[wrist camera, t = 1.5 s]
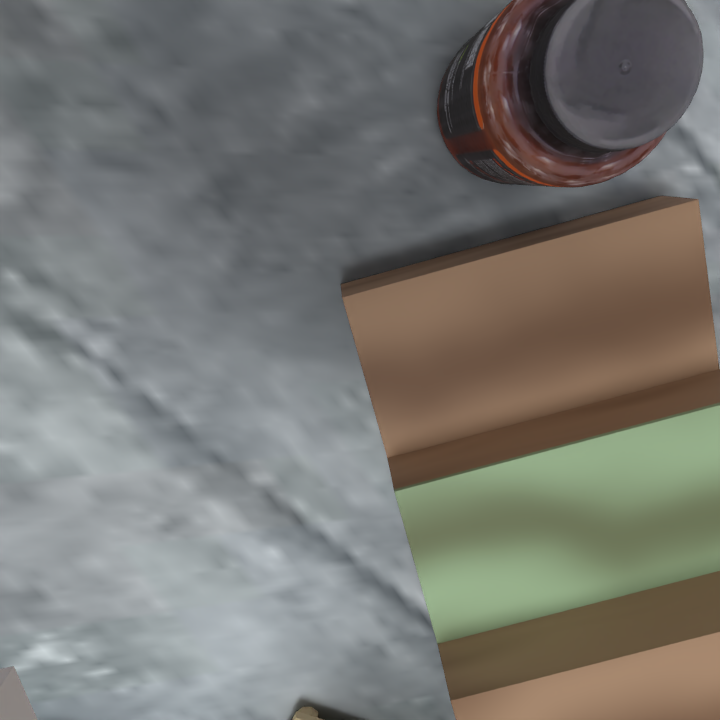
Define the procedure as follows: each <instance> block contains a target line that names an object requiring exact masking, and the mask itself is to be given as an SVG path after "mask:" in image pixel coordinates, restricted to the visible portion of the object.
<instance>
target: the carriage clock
mask: <svg viewBox="0 0 720 720" xmlns="http://www.w3.org/2000/svg"><path fill="white" fill-rule="evenodd" d="M292 720H323V719H320V718H318V711H316V710H315V709H314V708H313V707H302V708H301V709H299V710H298V711H296V713H295V715H294V717H293V719H292Z"/></svg>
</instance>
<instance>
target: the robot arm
mask: <svg viewBox="0 0 720 720" xmlns="http://www.w3.org/2000/svg"><path fill="white" fill-rule="evenodd" d="M0 720H37V717H36V715H35V713H34V711H33V708H32V706H31V704H30V702H29V699H28V697H27V695H26V693H25V690H24V688H23V686H22V684H21V681H20V679H19V677H18V675H17V672H16V670H15V668H14V666H11V667H7V668H2V669H0Z"/></svg>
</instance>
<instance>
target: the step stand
mask: <svg viewBox="0 0 720 720" xmlns="http://www.w3.org/2000/svg"><path fill="white" fill-rule="evenodd" d="M341 291H342V298H343V302H344V305H345V309H346V313H347V316H348V320H349V323H350V327H351V330H352V334H353V337H354V341H355V344H356V348H357V352H358V355H359V359H360V362H361V366H362V369H363V373H364V376H365V380H366V383H367V387H368V391H369V394H370V398H371V401H372V405H373V408H374V412H375V415H376V419H377V422H378V426H379V429H380V433H381V437H382V440H383V444H384V447H385V451H386V454H387V458H388V463H389V467H390V472H391V477H392V482H393V487H394V492H395V495H396V499H397V502H398V506H399V509H400V513H401V517H402V520H403V524H404V527H405V531H406V534H407V538H408V541H409V545H410V548H411V552H412V555H413V559H414V562H415V566H416V569H417V573H418V577H419V580H420V584H421V587H422V591H423V594H424V598H425V601H426V605H427V608H428V612H429V615H430V619H431V622H432V626H433V629H434V633H435V636H436V640H437V644H438V648H439V652H440V657H441V661H442V665H443V670H444V674H445V678H446V683H447V687H448V691H449V696H450V700H451V704H452V707H453V711H454V714H455V718H456V720H720V369H719V364H718V356H717V347H716V339H715V331H714V323H713V315H712V307H711V299H710V290H709V282H708V274H707V266H706V258H705V250H704V241H703V233H702V225H701V217H700V209H699V201H698V199H690V198H680V197H670V196H658V197H654V198H651V199H647V200H644V201H640V202H636V203H633V204H629V205H625V206H622V207H618V208H615V209H611V210H607V211H604V212H600V213H597V214H593V215H589V216H586V217H582V218H578V219H575V220H571V221H568V222H564V223H560V224H557V225H553V226H550V227H546V228H542V229H539V230H535V231H531V232H528V233H524V234H521V235H517V236H513V237H510V238H506V239H503V240H499V241H495V242H492V243H488V244H484V245H481V246H477V247H474V248H470V249H466V250H463V251H459V252H456V253H452V254H448V255H445V256H441V257H437V258H434V259H430V260H427V261H423V262H419V263H416V264H412V265H409V266H405V267H401V268H398V269H394V270H390V271H387V272H383V273H380V274H376V275H372V276H369V277H365V278H362V279H358V280H354V281H351V282H347V283H343V284H341Z"/></svg>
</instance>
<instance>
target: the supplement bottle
mask: <svg viewBox="0 0 720 720" xmlns="http://www.w3.org/2000/svg"><path fill="white" fill-rule="evenodd" d="M702 65H703V46H702V36H701V32H700V29H699V26H698V23H697V20H696V19H695V17H694V15H693V13H692V11H691V10H690V8H689V7H688V6H687V4H686V2H685V1H684V0H513V1H512V2H510V3H509V4H508V5H507V6H506V7H505V8H504V9H503V10H502V11H501V12H499V13H498V14H497V15H496V16H495V17H494V18H493V19H492V20H491V21H489V22H488V23H487V24H486V25H485V26H484V27H483V28H482V29H481V30H480V31H479V32H477V34H475V36H473V37H472V38H471V39H470V40H469V41H468V42H467V43H466V44H465V45H464V46H463V47H462V48H461V49H460V50H459V51H458V53H457V54H456V56H455V57H454V58H453V60H452V61H451V63H450V65H449V66H448V68H447V70H446V72H445V75H444V77H443V79H442V82H441V85H440V90H439V96H438V105H437V116H438V122H439V127H440V131H441V134H442V137H443V139H444V142H445V144H446V146H447V148H448V149H449V151H450V152H451V154H452V155H453V157H454V158H455V159H456V161H457V162H458V163H459V164H460V165H461V166H463V167H464V168H465V169H467V170H468V171H470V172H471V173H473V174H474V175H476V176H478V177H480V178H483V179H486V180H489V181H493V182H497V183H501V184H517V185H536V186H552V187H582V186H587V185H593V184H597V183H601V182H604V181H607V180H609V179H611V178H614V177H616V176H618V175H621V174H622V173H624V172H626V171H627V170H629V169H630V168H632V167H634V166H635V165H636V164H638V163H639V162H640V161H641V160H643V159H644V158H645V157H646V156H647V155H648V154H649V153H650V152H651V151H652V150H653V149H654V148H655V147H656V146H657V145H658V143H659V142H660V141H661V140H662V138H663V137H664V135H665V133H666V132H667V131H668V130H669V129H670V128H671V127H672V126H673V125H674V124H675V123H676V122H677V121H678V120H679V119H680V118H681V116H682V115H683V113H684V112H685V111H686V109H687V108H688V106H689V105H690V103H691V101H692V99H693V96H694V94H695V93H696V90H697V87H698V85H699V81H700V77H701V73H702Z"/></svg>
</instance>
